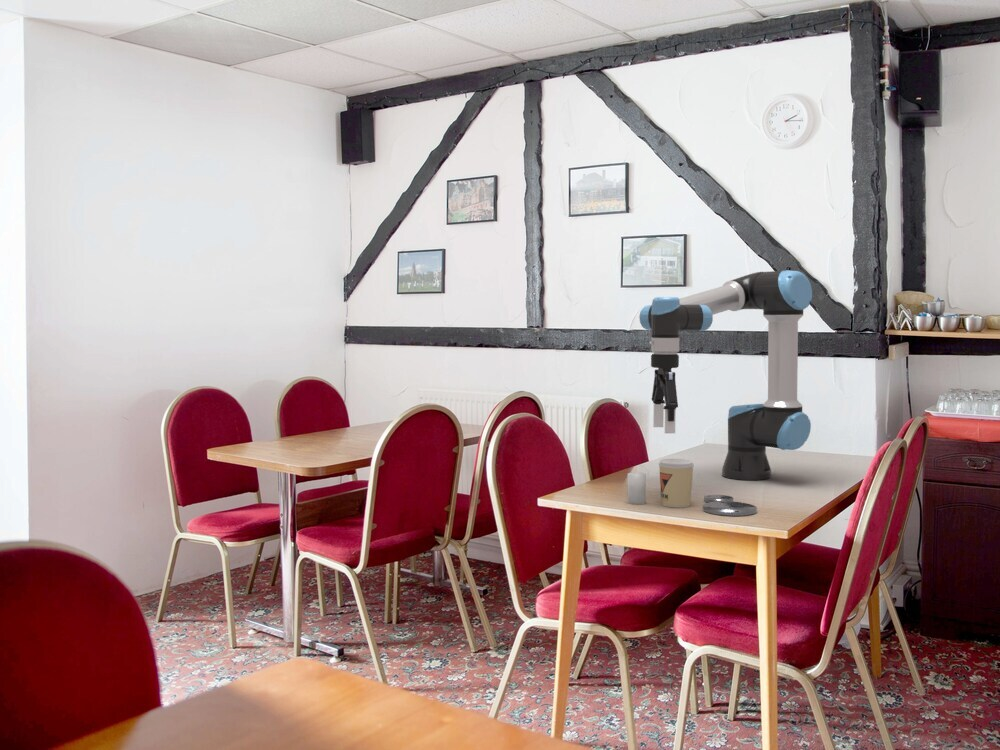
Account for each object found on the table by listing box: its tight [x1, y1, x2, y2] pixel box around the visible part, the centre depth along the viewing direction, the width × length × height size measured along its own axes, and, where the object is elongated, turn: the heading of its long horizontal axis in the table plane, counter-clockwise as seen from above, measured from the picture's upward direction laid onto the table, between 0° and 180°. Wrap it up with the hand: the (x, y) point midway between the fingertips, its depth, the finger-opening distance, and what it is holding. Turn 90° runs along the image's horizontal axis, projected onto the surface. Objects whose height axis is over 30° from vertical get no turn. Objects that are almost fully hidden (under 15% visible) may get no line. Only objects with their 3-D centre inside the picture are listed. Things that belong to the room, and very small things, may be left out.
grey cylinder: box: [627, 471, 647, 505], centre depth 256 cm, size 5×5×8 cm
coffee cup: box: [658, 458, 695, 509], centre depth 252 cm, size 9×9×12 cm
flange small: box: [703, 494, 734, 503], centre depth 257 cm, size 8×8×1 cm
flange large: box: [702, 501, 758, 517], centre depth 245 cm, size 14×14×1 cm
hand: (663, 430), depth 255 cm, fingers open, 13 cm apart
